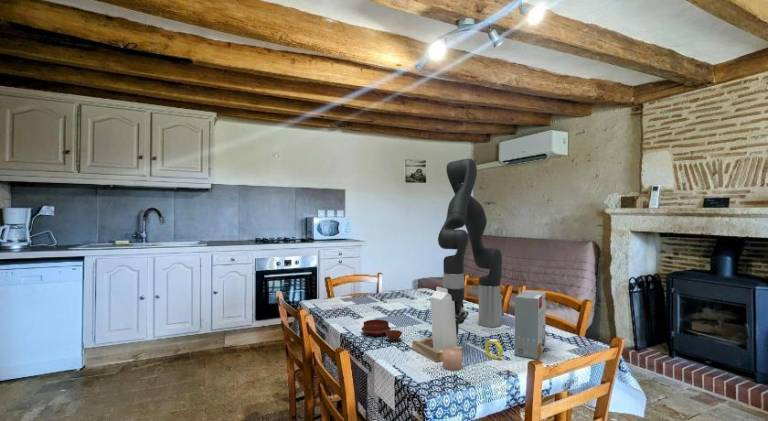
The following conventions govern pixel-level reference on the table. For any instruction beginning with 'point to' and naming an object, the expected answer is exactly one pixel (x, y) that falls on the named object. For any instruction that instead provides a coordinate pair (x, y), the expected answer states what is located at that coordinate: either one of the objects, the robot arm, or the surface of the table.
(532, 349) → the hard drive box
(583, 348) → the table surface
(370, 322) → the pottery
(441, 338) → the milk
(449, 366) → the peach rounded capsule
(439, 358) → the display frame
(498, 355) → the watch
